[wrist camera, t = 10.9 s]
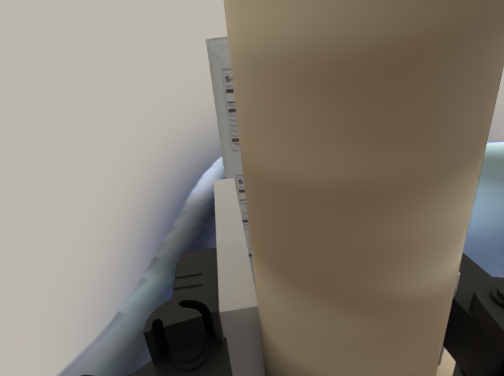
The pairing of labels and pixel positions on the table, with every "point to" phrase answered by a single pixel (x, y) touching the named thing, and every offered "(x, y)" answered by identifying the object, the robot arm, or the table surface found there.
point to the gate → (361, 172)
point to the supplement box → (228, 122)
